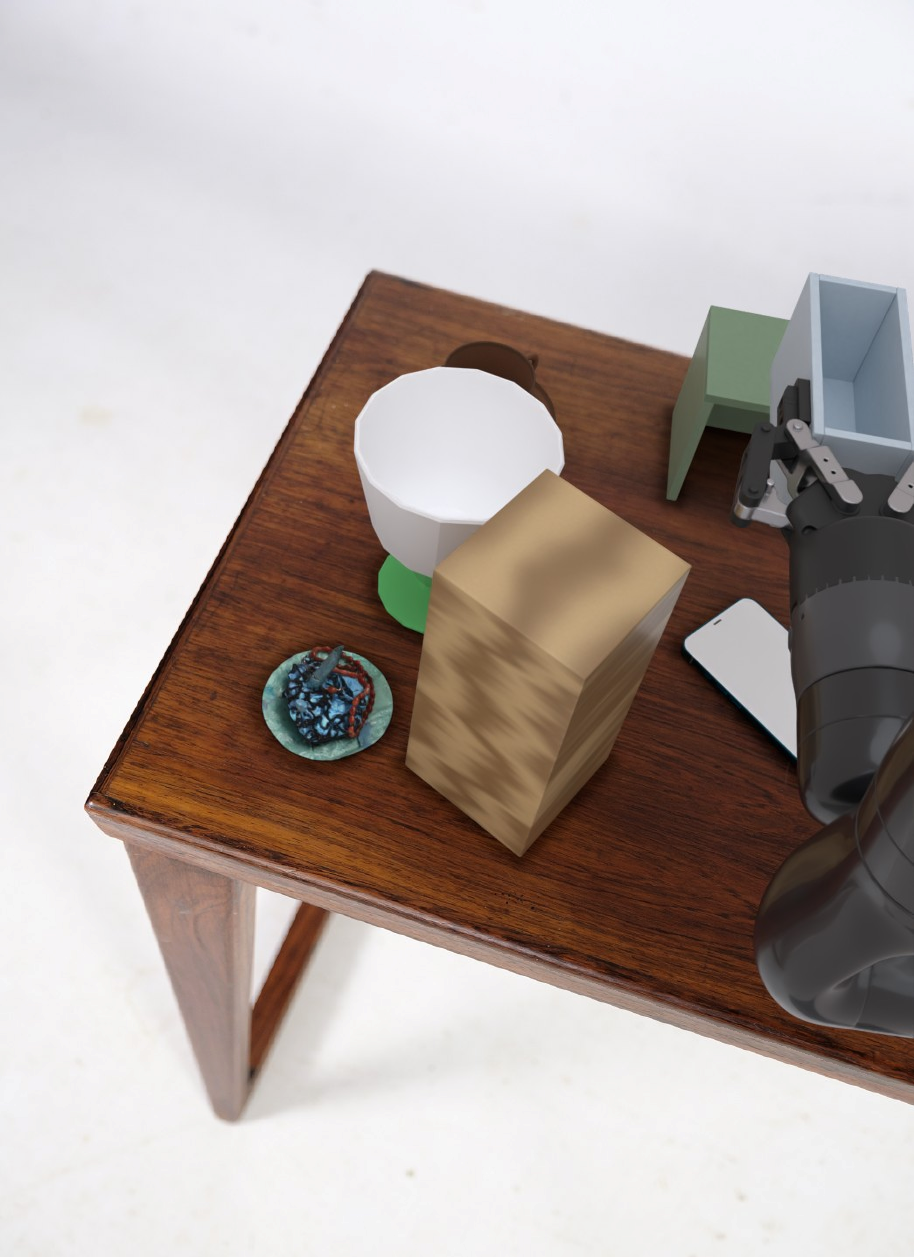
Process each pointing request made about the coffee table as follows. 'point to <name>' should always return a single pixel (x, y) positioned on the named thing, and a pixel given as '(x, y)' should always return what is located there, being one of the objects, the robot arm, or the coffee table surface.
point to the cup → (444, 469)
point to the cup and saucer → (502, 366)
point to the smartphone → (749, 668)
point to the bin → (851, 374)
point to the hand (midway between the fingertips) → (854, 400)
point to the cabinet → (723, 383)
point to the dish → (327, 703)
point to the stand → (535, 655)
